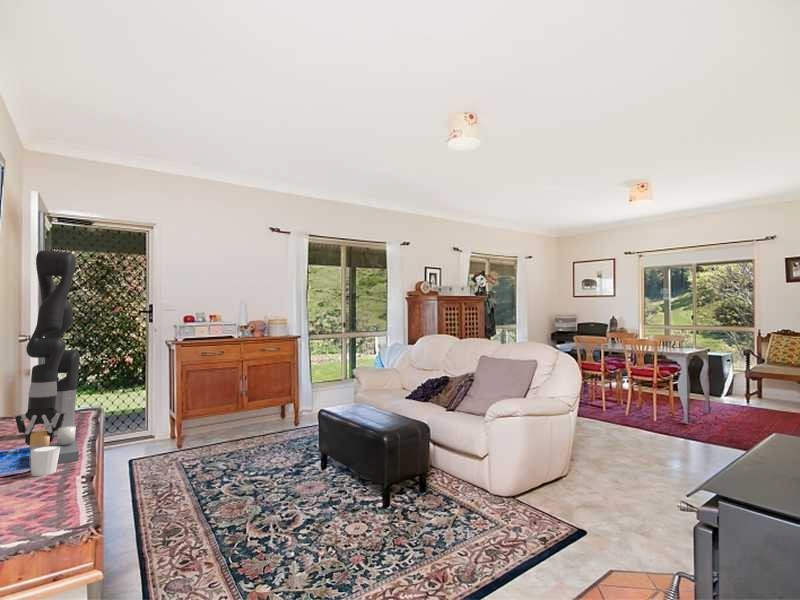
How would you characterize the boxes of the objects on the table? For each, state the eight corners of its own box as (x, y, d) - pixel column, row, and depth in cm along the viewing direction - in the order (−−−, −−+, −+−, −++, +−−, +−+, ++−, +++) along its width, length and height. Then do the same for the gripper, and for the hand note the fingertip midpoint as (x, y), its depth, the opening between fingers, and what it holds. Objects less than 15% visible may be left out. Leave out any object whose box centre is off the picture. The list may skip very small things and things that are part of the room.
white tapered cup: (64, 470, 127) (66, 447, 128) (38, 478, 121) (40, 453, 122) (48, 467, 130) (50, 444, 130) (22, 474, 123) (24, 450, 124)
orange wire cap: (32, 444, 149) (33, 430, 150) (49, 443, 151) (51, 429, 152) (27, 448, 145) (28, 433, 145) (45, 447, 147) (46, 432, 147)
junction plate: (30, 455, 141) (32, 429, 142) (75, 449, 149) (77, 424, 150) (28, 467, 129) (31, 439, 130) (78, 460, 137) (80, 433, 137)
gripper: (71, 392, 156) (67, 439, 155) (21, 393, 150) (17, 442, 149) (64, 395, 149) (61, 444, 148) (12, 397, 143) (8, 448, 142)
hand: (39, 443), depth 148 cm, fingers closed on orange wire cap, 4 cm apart
